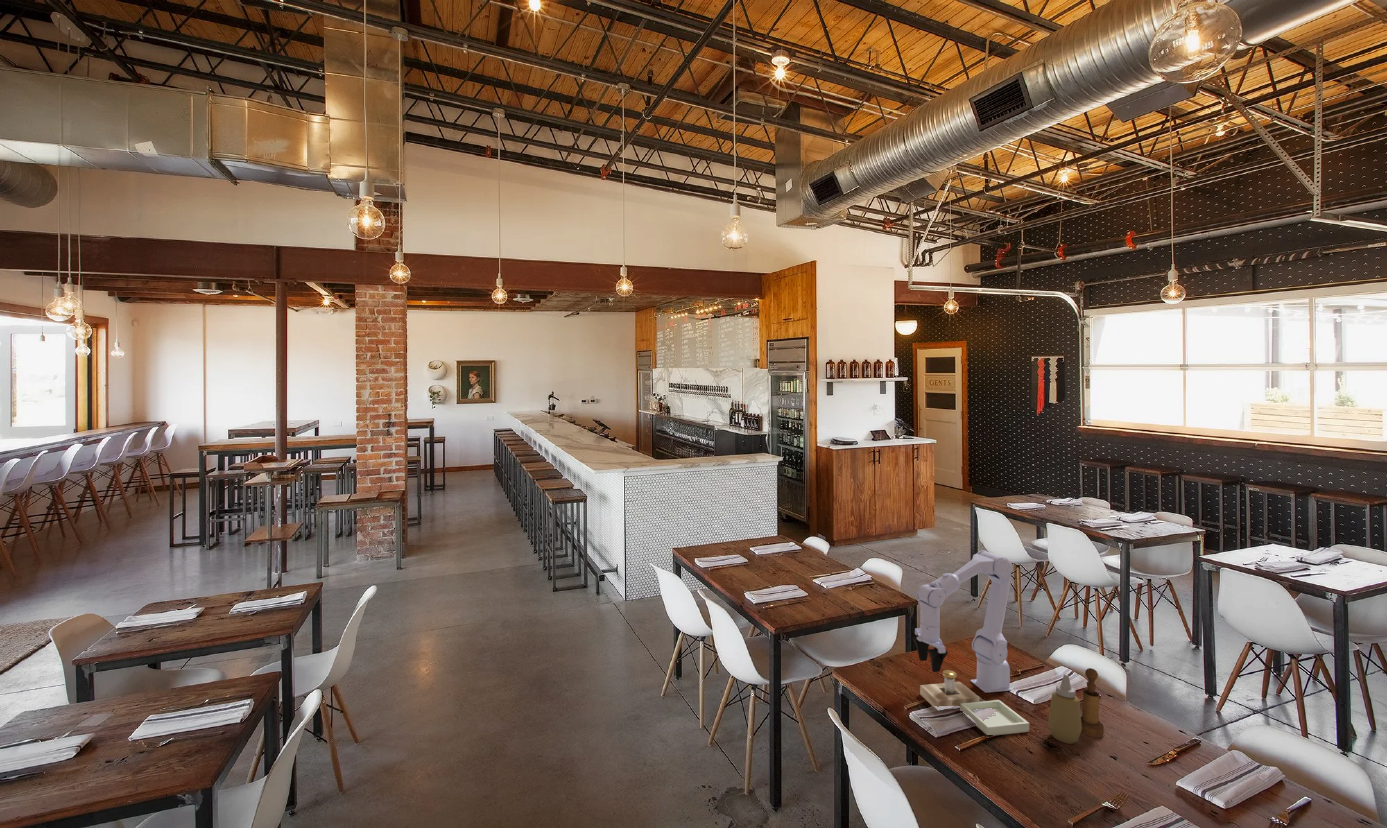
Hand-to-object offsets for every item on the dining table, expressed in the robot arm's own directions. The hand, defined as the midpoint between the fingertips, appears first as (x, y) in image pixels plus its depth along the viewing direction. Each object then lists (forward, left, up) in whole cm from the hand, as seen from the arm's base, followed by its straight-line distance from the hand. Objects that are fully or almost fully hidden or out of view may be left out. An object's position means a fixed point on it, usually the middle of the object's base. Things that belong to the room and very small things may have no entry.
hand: (929, 665), depth 191 cm
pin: (-5, +3, -10) cm, 12 cm away
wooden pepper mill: (-35, +25, -10) cm, 44 cm away
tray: (-11, +16, -10) cm, 22 cm away
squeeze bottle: (-25, +27, -10) cm, 38 cm away
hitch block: (-5, +3, -10) cm, 12 cm away
